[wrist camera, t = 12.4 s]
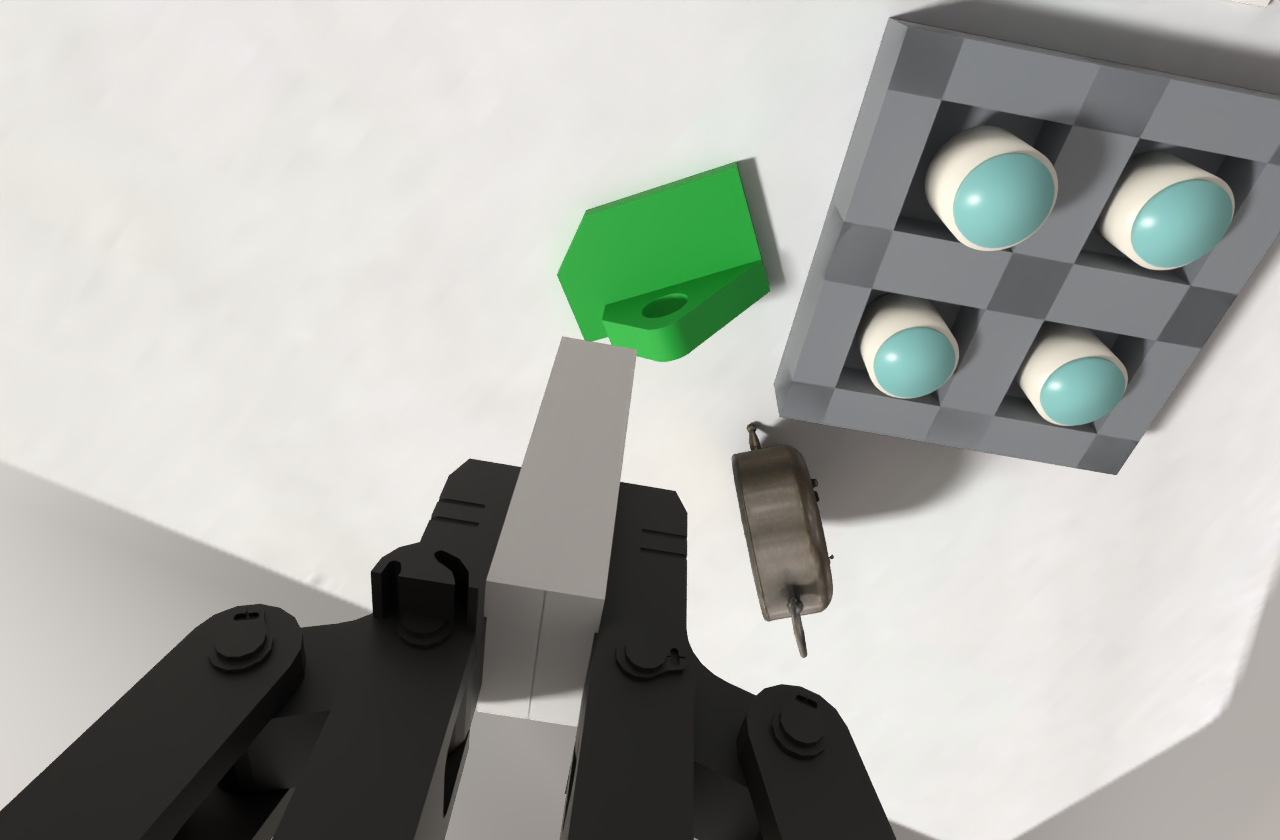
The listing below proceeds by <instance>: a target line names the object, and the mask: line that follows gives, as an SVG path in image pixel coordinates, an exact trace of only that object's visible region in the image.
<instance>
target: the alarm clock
mask: <svg viewBox="0 0 1280 840" xmlns="http://www.w3.org/2000/svg"><path fill="white" fill-rule="evenodd" d="M747 430H748V432H749V443H750V448H751V451H748V452H743V453H738V454H734V455H733V456H732V467H733V474H734V482H735V486H736V492H737V497H738V502H739V508H740V513H741V520H742V524H743V528H744V534H745V538H746V541H747V547H748V552H749V557H750V563H751V567H752V573H753V576H754V581H755V586H756V590H757V595H758V599H759V603H760V607H761V610H762V614H763V617H764V620H766V621H772V620H777V619H783V618H789V617H792V623H793V629H794V635H795V638H796V642H797V645H798V649H799V652H800V655H801V656H802V658H805V657H806V656H807V649H806V642H805V636H804V630H803V627H802V622H801V617H800V616H801V615H807V614H813V613H818V612H822V611H823V610H825V609H826V608H827V607H828V605H829V603H830V601H831V599H832V594H833V583H832V575H831V569H830V559H833V558H834V556H833V555H831V556H830V557H828V552H827V546H826V541H825V536H824V531H823V527H822V522H821V518H820V513H819V509H818V505H817V502H818V501H819V497H818V493H817V492H816V491H814V490H813V487H816V486H817V485H818V482H817V480H816V479H811V478H810V475H809V471H808V468H807V466H806V463H805V461H804V459H803V457H802V455H801V454H800V453H799V452H798V451H797V450H796V449H795V448H793V447H791V446H789V445H779V446H774V447H769V448H764V449H761V446H760V442H759V439H758V437H757V435H756V433H755V431H756V426H755V425H754V424H750V425H748V426H747ZM829 558H830V559H829Z"/></svg>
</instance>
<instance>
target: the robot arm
mask: <svg viewBox="0 0 1280 840" xmlns="http://www.w3.org/2000/svg"><path fill="white" fill-rule="evenodd" d="M636 354H637V350H636V349H631V348H625V347H619V346H614V345H608V344H602V343H597V342H591V341H585V340H579V339H574V338H568V337H562V339H561V342H560V346H559V349H558V352H557V355H556V358H555V362H554V365H553V368H552V371H551V374H550V378H549V381H548V384H547V387H546V390H545V394H544V397H543V400H542V403H541V406H540V410H539V413H538V416H537V419H536V422H535V426H534V429H533V432H532V435H531V438H530V442H529V445H528V448H527V451H526V454H525V458H524V461H523V464H522V467H517V466H511V465H505V464H499V463H493V462H487V461H481V460H475V459H469V460H467V461H466V462H465V463H464V464H462V465H461V466H460V467H459V468H458V469H456V470H455V471H454V472H453V473H452V474H450V475H449V477H448V479H447V481H446V484H445V486H444V488H443V491H442V493H441V495H440V498H439V502H437V504H436V507H435V509H434V511H433V513H432V517H431V520H429V523H428V525H427V527H426V529H425V532H424V534H423V536H422V538H421V541H420V542H418V543H414V544H410V545H406V546H402V547H399V548H397V549H395V550H394V551H392V552H390V553H389V554H387V555H385V556H384V557H382V558H381V559H380V561H379V562H378V563H377V564H376V566H375V567H374V568H373V569H372V571H371V585H372V604H373V613H372V614H370V615H367V616H364V617H362V618H360V619H357V620H354V621H349V622H343V623H339V624H330V625H321V626H312V627H303V628H300V627H299V625H298V623H297V621H296V619H295V617H293V616H292V615H290V614H289V613H287V612H285V611H284V610H282V609H281V608H278V607H273V606H267V605H263V604H255V605H245V606H237V607H234V608H231V609H228V610H226V611H223V612H220V613H218V614H215V615H213V616H212V617H210V618H209V619H208V620H206V621H205V622H203V623H202V624H200V625H199V626H198V627H196V628H195V629H194V630H193V631H192V632H190V633H189V634H188V635H187V636H186V637H185V638H184V639H183V640H182V641H181V642H180V643H179V644H178V645H177V646H176V647H175V648H173V650H171V651H170V652H169V653H168V654H167V655H166V656H165V657H164V658H163V659H162V660H161V661H160V662H159V663H157V664H156V665H155V666H154V667H153V668H152V669H151V670H150V671H149V672H148V673H147V674H146V675H145V676H144V677H143V678H142V679H140V681H138V682H137V683H136V684H135V685H134V686H133V687H132V688H131V689H130V690H129V691H128V692H127V693H126V694H125V695H124V696H122V697H121V698H120V699H119V700H118V701H117V702H116V703H115V704H114V705H113V706H112V707H111V708H110V709H109V710H107V711H106V712H105V713H104V714H103V715H102V716H101V717H100V718H99V719H98V720H97V721H96V722H95V723H94V724H93V725H92V726H91V727H89V728H88V729H87V730H86V731H85V732H84V733H83V734H82V735H81V736H80V737H79V738H78V739H77V740H76V741H75V742H74V743H72V744H71V745H70V746H69V747H68V748H67V749H66V750H65V751H64V752H63V753H62V754H61V755H60V756H59V757H58V758H56V759H55V760H54V761H53V762H52V763H51V764H50V765H49V766H48V767H47V768H46V769H45V770H44V771H43V772H42V773H40V774H39V776H37V777H36V778H35V779H34V780H33V781H32V782H31V783H30V784H29V785H28V786H27V787H26V788H24V790H22V791H21V792H20V793H19V794H18V795H17V796H16V797H15V798H14V799H13V800H12V801H11V802H10V803H9V804H8V805H6V806H5V807H4V808H3V809H2V810H1V811H0V840H271V839H272V840H444V839H445V835H446V832H447V828H448V824H449V820H450V816H451V813H452V809H453V805H454V801H455V798H456V793H457V790H458V787H459V783H460V779H461V775H462V772H463V768H464V764H465V760H466V757H467V753H468V749H469V732H470V726H471V722H472V718H473V714H474V711H475V708H476V704H477V711H478V712H485V713H491V714H498V715H504V716H511V717H517V718H524V719H530V720H537V721H543V722H550V723H556V724H564V725H570V726H577V735H576V741H575V747H574V751H573V756H572V762H571V767H570V771H569V776H568V781H567V786H566V791H565V794H566V801H565V808H564V814H563V822H562V828H561V835H560V840H694V838H696V839H698V840H896V837H895V835H894V833H893V831H892V828H891V826H890V824H889V821H888V819H887V817H886V814H885V812H884V810H883V808H882V805H881V803H880V801H879V798H878V796H877V794H876V791H875V789H874V787H873V785H872V782H871V780H870V778H869V775H868V773H867V771H866V769H865V766H864V764H863V762H862V759H861V757H860V755H859V753H858V750H857V748H856V746H855V743H854V741H853V739H852V736H851V734H850V732H849V730H848V727H847V726H846V724H845V723H844V721H843V719H842V718H841V716H840V715H839V713H838V712H837V710H836V709H835V708H834V707H833V706H832V705H830V704H829V703H828V702H827V701H826V700H825V699H823V698H822V697H821V696H820V695H818V694H816V693H814V692H811V691H809V690H807V689H805V688H803V687H800V686H792V685H784V684H780V685H776V686H773V687H769V688H765V689H763V690H762V691H761V692H760V693H759V694H758V695H754V694H751V693H749V692H747V691H745V690H743V689H741V688H738V687H736V686H734V685H732V684H730V683H728V682H726V681H724V680H723V679H721V678H719V677H717V676H716V675H714V674H713V673H712V672H710V671H709V670H708V669H707V668H706V667H705V666H704V665H702V663H701V662H700V661H699V659H698V658H697V657H696V655H695V654H694V653H693V651H692V648H691V646H690V644H689V641H688V637H687V629H686V610H687V560H686V558H687V512H686V510H685V508H684V506H683V504H682V502H681V500H680V499H679V497H678V495H677V493H676V491H672V490H666V489H660V488H654V487H648V486H642V485H636V484H630V483H624V482H620V478H621V470H622V462H623V455H624V447H625V439H626V431H627V424H628V416H629V408H630V400H631V393H632V385H633V377H634V369H635V362H636ZM477 700H478V701H477ZM272 837H273V838H272Z"/></svg>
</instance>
